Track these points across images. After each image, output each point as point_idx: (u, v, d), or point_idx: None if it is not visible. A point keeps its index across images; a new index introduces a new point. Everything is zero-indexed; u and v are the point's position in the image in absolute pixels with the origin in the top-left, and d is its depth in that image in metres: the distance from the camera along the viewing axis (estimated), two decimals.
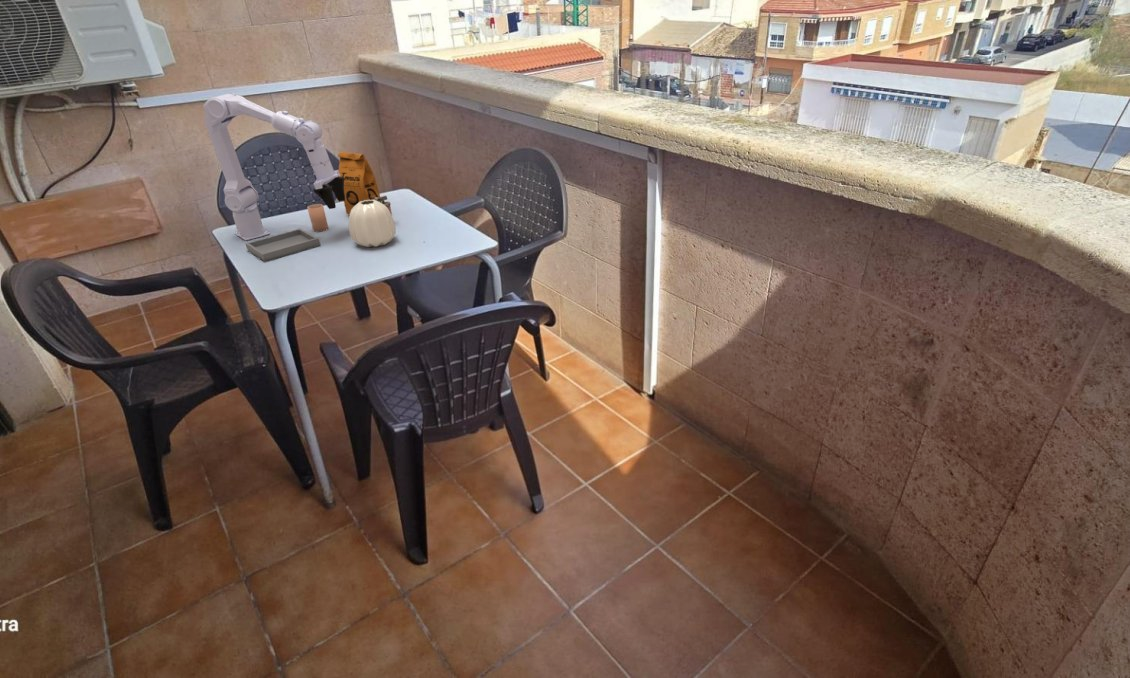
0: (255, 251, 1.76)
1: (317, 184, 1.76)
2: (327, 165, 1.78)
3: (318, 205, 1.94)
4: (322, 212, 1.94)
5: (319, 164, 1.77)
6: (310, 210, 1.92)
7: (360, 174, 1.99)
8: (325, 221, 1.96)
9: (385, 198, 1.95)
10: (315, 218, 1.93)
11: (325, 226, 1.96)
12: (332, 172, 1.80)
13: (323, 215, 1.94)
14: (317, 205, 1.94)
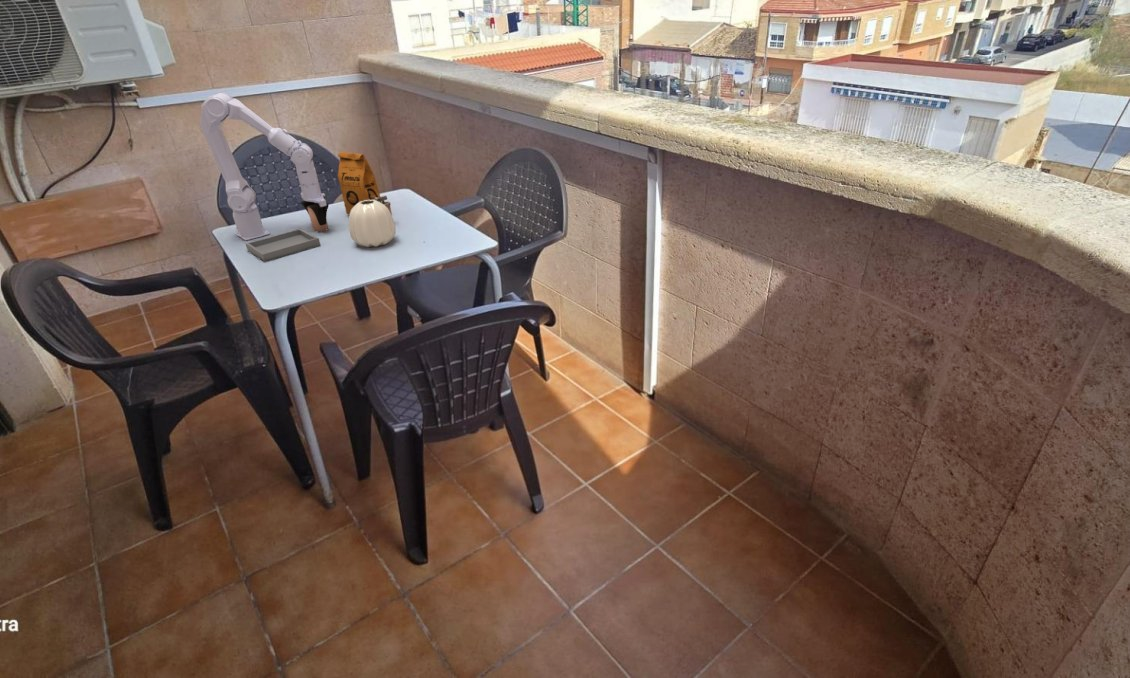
0: (255, 251, 1.76)
1: (323, 201, 1.88)
2: None
3: None
4: None
5: (315, 184, 1.88)
6: (310, 210, 1.92)
7: (360, 174, 1.99)
8: None
9: (385, 198, 1.95)
10: (315, 218, 1.93)
11: (325, 226, 1.96)
12: None
13: None
14: None
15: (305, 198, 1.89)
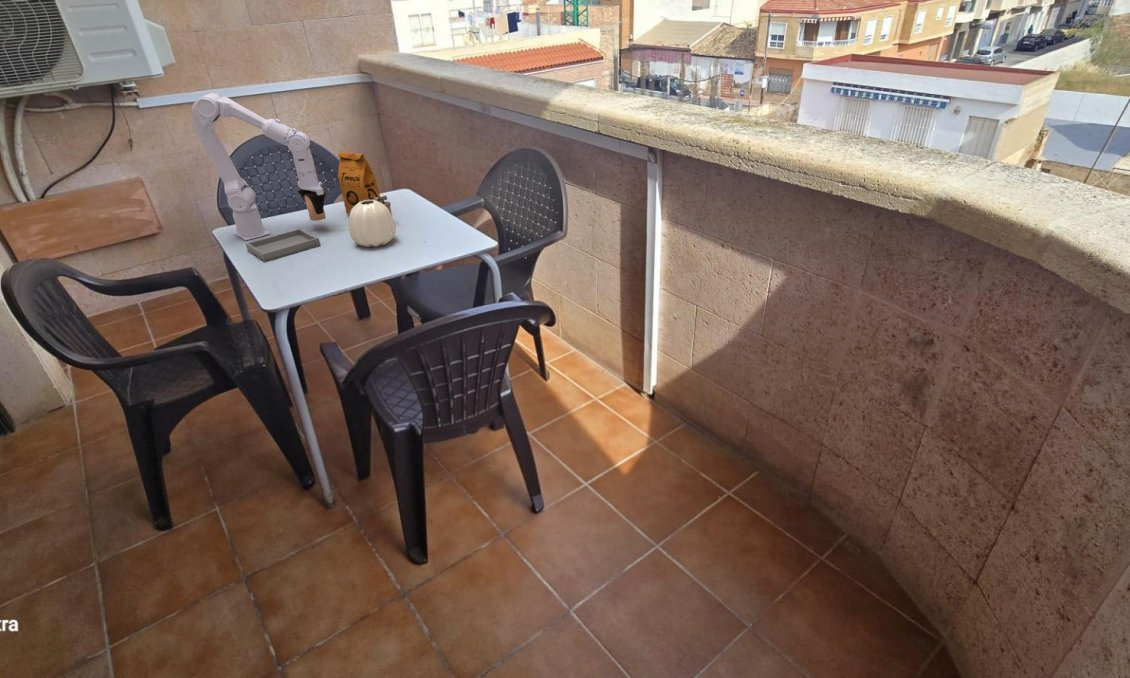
0: (255, 251, 1.76)
1: (320, 190, 1.86)
2: None
3: None
4: None
5: (312, 172, 1.86)
6: (307, 199, 1.90)
7: (360, 174, 1.99)
8: None
9: (385, 198, 1.95)
10: (312, 207, 1.91)
11: (323, 216, 1.94)
12: None
13: None
14: None
15: (302, 186, 1.87)
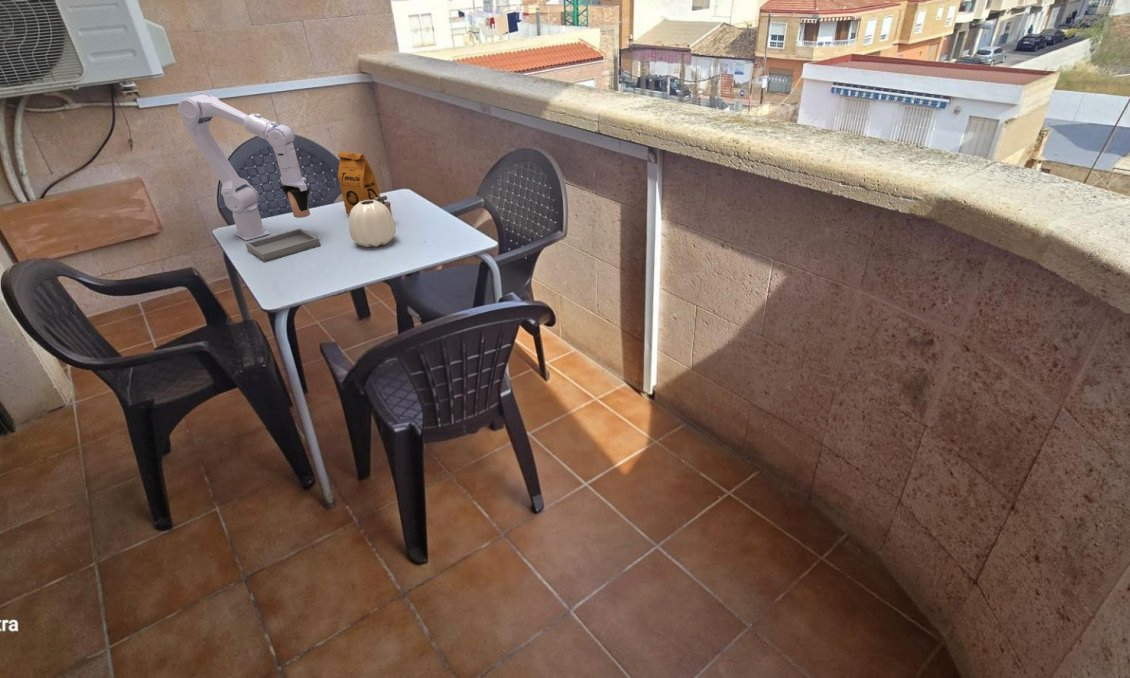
0: (255, 251, 1.76)
1: (304, 186, 1.78)
2: (299, 168, 1.81)
3: None
4: None
5: (295, 167, 1.79)
6: (290, 195, 1.83)
7: (360, 174, 1.99)
8: None
9: (385, 198, 1.95)
10: (296, 203, 1.84)
11: (307, 212, 1.87)
12: None
13: None
14: None
15: (285, 182, 1.80)
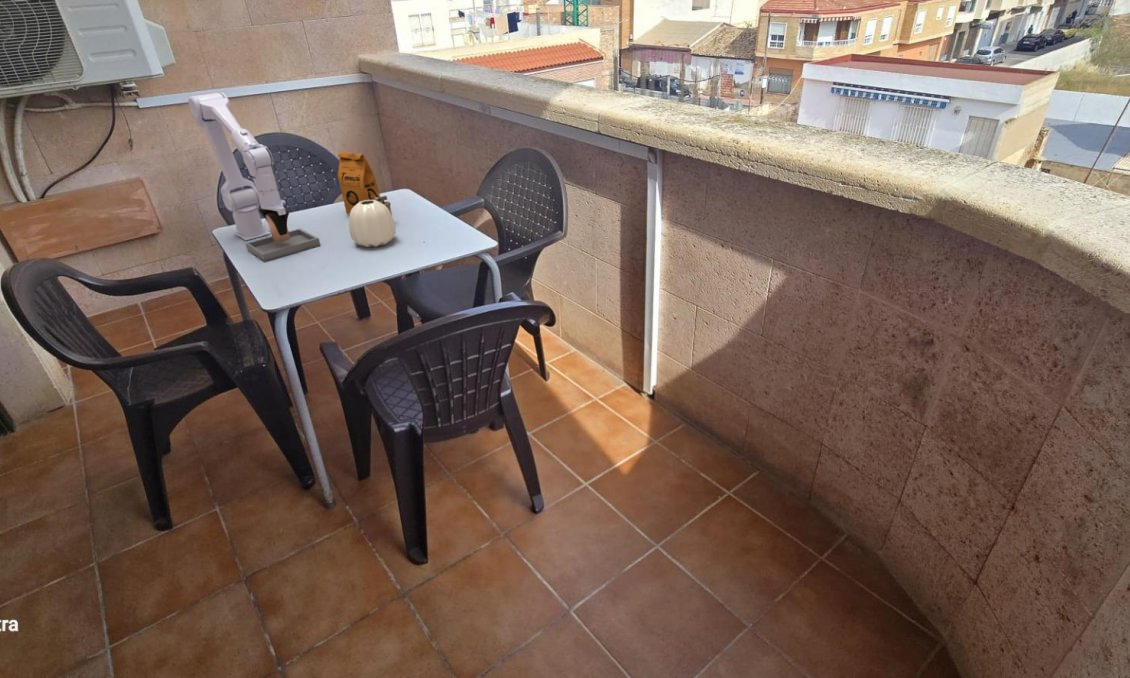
0: (255, 251, 1.76)
1: (282, 210, 1.71)
2: None
3: None
4: None
5: (273, 190, 1.72)
6: (269, 219, 1.76)
7: (360, 174, 1.99)
8: None
9: (385, 198, 1.95)
10: (275, 227, 1.77)
11: (286, 236, 1.80)
12: None
13: None
14: None
15: (263, 206, 1.73)
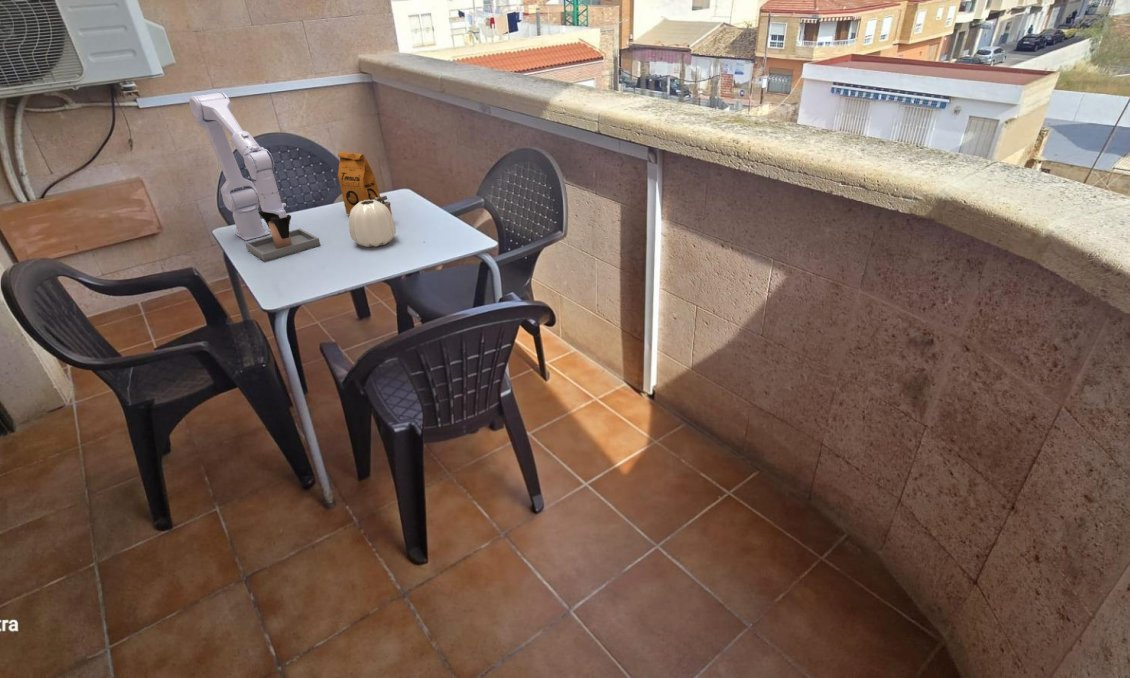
0: (255, 251, 1.76)
1: (283, 213, 1.72)
2: None
3: None
4: None
5: (274, 193, 1.73)
6: (271, 226, 1.77)
7: (360, 174, 1.99)
8: None
9: (385, 198, 1.95)
10: (277, 234, 1.78)
11: (288, 243, 1.81)
12: None
13: None
14: None
15: (263, 209, 1.74)
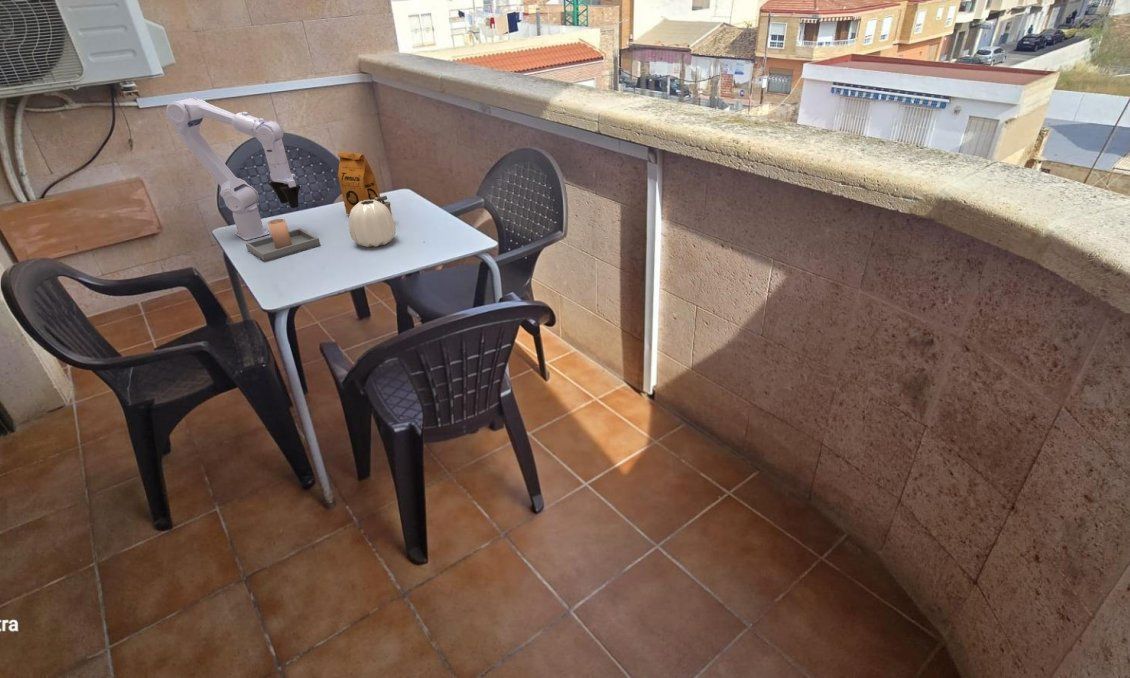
0: (255, 251, 1.76)
1: (292, 182, 1.79)
2: (288, 165, 1.81)
3: (280, 221, 1.79)
4: (284, 228, 1.79)
5: (284, 163, 1.79)
6: (271, 226, 1.77)
7: (360, 174, 1.99)
8: (288, 237, 1.81)
9: (385, 198, 1.95)
10: (277, 234, 1.78)
11: (288, 243, 1.81)
12: None
13: (286, 231, 1.79)
14: (278, 220, 1.79)
15: (274, 178, 1.80)
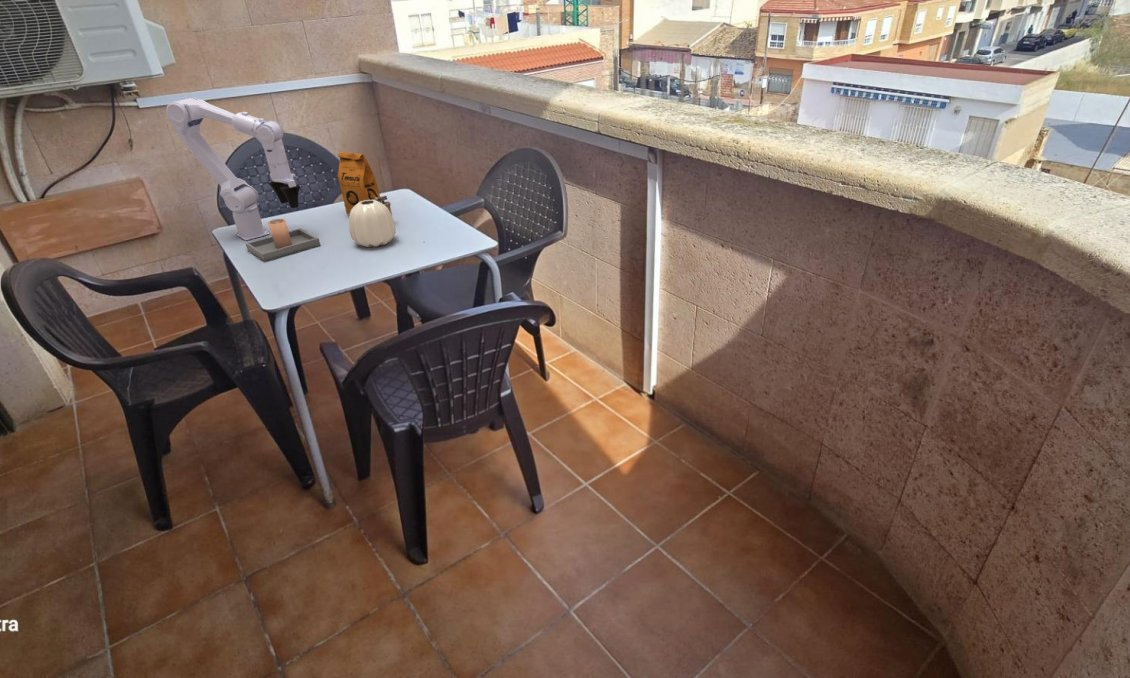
0: (255, 251, 1.76)
1: (292, 182, 1.79)
2: (288, 165, 1.81)
3: (280, 221, 1.79)
4: (284, 228, 1.79)
5: (284, 163, 1.79)
6: (271, 226, 1.77)
7: (360, 174, 1.99)
8: (288, 237, 1.81)
9: (385, 198, 1.95)
10: (277, 234, 1.78)
11: (289, 243, 1.81)
12: None
13: (286, 231, 1.79)
14: (279, 220, 1.79)
15: (274, 178, 1.80)
